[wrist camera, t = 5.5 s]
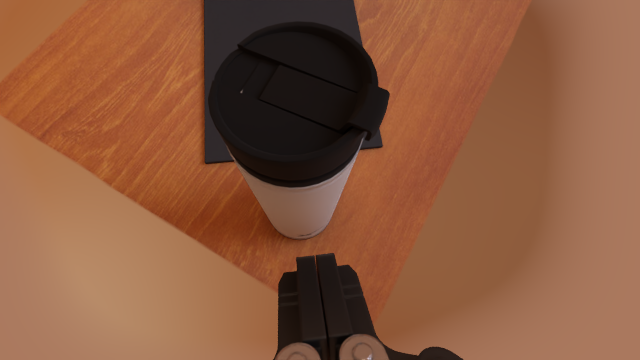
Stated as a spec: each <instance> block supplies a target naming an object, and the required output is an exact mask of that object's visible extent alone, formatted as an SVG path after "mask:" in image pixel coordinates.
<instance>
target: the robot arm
mask: <svg viewBox="0 0 640 360" xmlns="http://www.w3.org/2000/svg"><path fill="white" fill-rule="evenodd" d="M296 262H297V271H294V272H286V273H284V274H283V276H282V278H281V280H280V282H279V283H278V297H279V298H278V350H277V353H276V355H275V358H274V359H273V360H463V359H462V358H460V357H459V356H457V355H456V354H454V353H453V352H451V351H449V350H447V349H445V348H441V347H429V348H426V349H424V350H423V351H422V352H421V353H420V354H419V356H417V355H411V354H405V353H401V352H397V351H394V350H392V349H390V348H388V347H387V346H385V345H384V344H383V343H382V342H381V341H380V340H379V338H378V337H377V335H376V333H375V330H374V327H373V324H372V321H371V317H370V314H369V311H368V308H367V304H366V301H365V298H364V296H363V292H362V288H361V286H360V282H359V279H358V276H357V273H356V272H355V271H354V270H353V269H352V268H351V267H350V266H349V265H342V266H337V263H336V259H335V255H334V253H329V254H321V255H316V263H315V256H314V255H313V256H305V257H296ZM316 267H317V270H316Z"/></svg>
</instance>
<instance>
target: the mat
mask: <svg viewBox="0 0 640 360" xmlns="http://www.w3.org/2000/svg"><path fill="white" fill-rule="evenodd" d="M295 21H301V22H315V23H319V24H324V25H328V26H331V27H333V28H336V29H339V30H341V31H342V32H344V33H346V34H347V35H349V36H351V37H352V38H354V39H355V40H356V41H357V42H358V43H359V44H360V45H361V46H362V41H361V36H360V31H359V26H358V21H357V16H356V11H355V6H354V1H353V0H204V79H205V163H206V164H210V163H220V162H231V161H234V160H233V158H232V157H231V155H230V153H229V151H228V148H227V146H226V144H225V142H224V141H223V139H222V137H221V135H220V134H219V132H218V130H217V129H216V127H215V125H214V122H213V120H212V118H211V115H210V112H209V105H208V96H209V92H210V88H211V84H212V80H214V77H215V74H216V72H217V71H218V69H219V67H220V65H221V64H222V62H223V61H224V60H225V59H226V58H227V56H228V55H229V54H230V53H231V52H233V51H235V50H237V49H238V46H237V44H239V43H240V42H241V41H242V40H244V39H245V38H246V37H248V36H249V35H250V34H252V33H253V32H255V31H257V30H260V29H262V28H265V27H267V26H271V25H275V24H279V23H285V22H295ZM362 47H363V46H362ZM366 135H367V132H365V134H364V137H363V141H362V144H361V147H360V149H370V148H381V147H382V146H383V145H382V140H381V135H380V130H379V129H378V131H377V133H376V135H375V136H374V137H373V138H372V139H371V140H370V141H366V140H365V137H366Z"/></svg>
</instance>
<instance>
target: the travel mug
mask: <svg viewBox="0 0 640 360" xmlns="http://www.w3.org/2000/svg"><path fill="white" fill-rule="evenodd" d="M237 46H238V49H237V50H235V51H233V52H231V53H230V54H229V55H228V56H227V58H226V59H225V60H224V61H223V62H222V64H221V65H220V67H219V69H218V71H217V72H216V74H215V77H214V80H212V84H211V88H210V92H209V96H208V105H209V112H210V115H211V118H212V120H213V122H214V125H215V127H216V129H217V130H218V132H219V134H220V135H221V137H222V139H223V141H224V142H225V144H226V146H227V148H228V151H229V153H230V155H231V157H232V158H233V160H234V162H235V163H236V165H237V167H238V168H239V170H240V172H241V173H242V175H243V177H244V178H245V180H246V182H247V183H248V185H249V187H250V188H251V190H252V192H253V193H254V195H255V197H256V198H257V200H258V202H259V203H260V205H261V207H262V208H263V210H264V212H265V213H266V215H267V217H268V218H269V220H270V222H271V223H272V225H273V226H274V228H275V229H276V230H277V231H278V232H279V233H281V234H282V235H284V236H286V237H288V238H291V239H297V240H301V239H308V238H312V237H314V236H316V235H318V234H319V233H320V232H322V231H323V230H324V229H325V228H326V226H327V225H328V223H329V221H330V219H331V217H332V215H333V212H334V210H335V207H336V205H337V203H338V200H339V198H340V195H341V193H342V191H343V188H344V186H345V183H346V181H347V179H348V176H349V174H350V171H351V169H352V167H353V164H354V162H355V159H356V157H357V154H358V152H359V150H360V147H361V144H362V141H363V137H364V134H365V132H367V135H366V137H365V140H366V141H370V140H371V139H372V138H373V137H374V136H375V135H376V133H377V131H378V129H379V127H380V125H381V123H382V120H383V118H384V115H385V113H386V109H387V105H388V100H389V95H390V94H389V92H388V91H387V90H385V89H382V88H380V87H378V78H377V71H376V69H375V66H374V64H373V62H372V59H371V57H370V56H369V55H368V53H367V52H366V51H365V49H364V48H363V47H362V46H361V45H360V44H359V43H358V42H357V41H356V40H355V39H354V38H352V37H351V36H349V35H347V34H346V33H344V32H342V31H341V30H339V29H336V28H333V27H331V26H328V25H324V24H319V23H315V22H301V21H295V22H285V23H279V24H275V25H271V26H267V27H265V28H262V29H260V30H257V31H255V32H253V33H252V34H250V35H249V36H248V37H246V38H245V39H244V40H242V41H241V42H240V43H239V44H237Z"/></svg>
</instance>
